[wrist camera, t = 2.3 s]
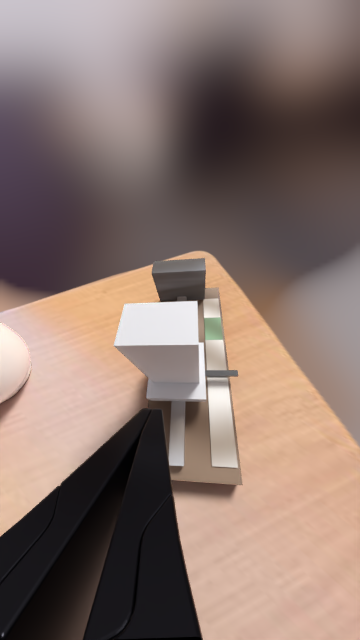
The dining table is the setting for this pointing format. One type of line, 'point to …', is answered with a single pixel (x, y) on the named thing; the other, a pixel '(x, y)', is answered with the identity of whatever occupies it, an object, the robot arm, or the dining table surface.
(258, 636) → the dining table surface
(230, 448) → the base
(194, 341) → the slider
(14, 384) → the lidded jar
